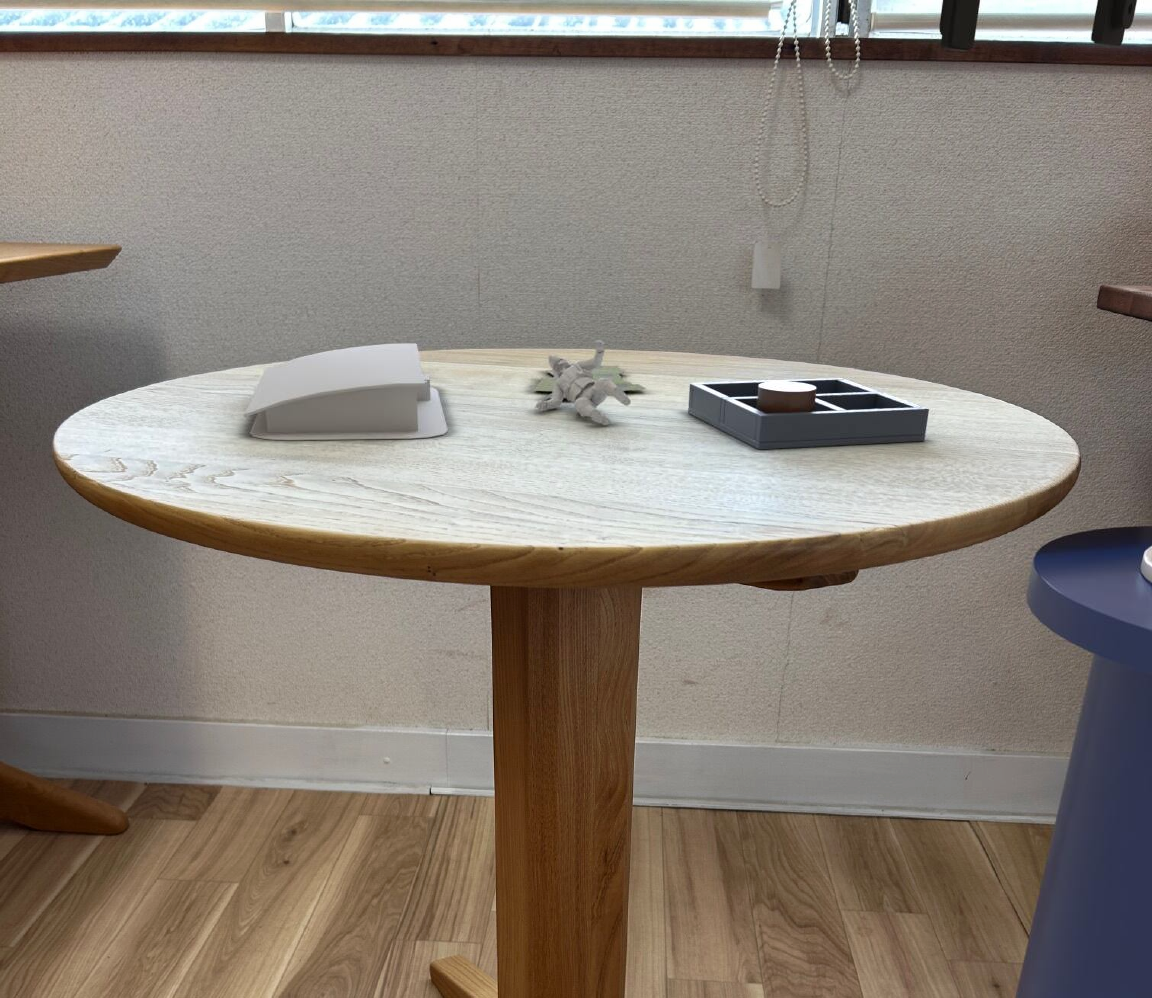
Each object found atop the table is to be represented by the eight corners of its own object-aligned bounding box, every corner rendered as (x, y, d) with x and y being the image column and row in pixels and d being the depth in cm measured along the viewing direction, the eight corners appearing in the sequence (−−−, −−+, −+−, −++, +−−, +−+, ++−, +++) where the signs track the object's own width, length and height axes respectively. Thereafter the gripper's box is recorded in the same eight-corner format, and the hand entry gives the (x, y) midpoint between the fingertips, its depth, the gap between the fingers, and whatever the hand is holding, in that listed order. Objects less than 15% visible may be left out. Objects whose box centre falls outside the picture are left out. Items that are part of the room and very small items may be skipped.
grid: (924, 441, 97) (929, 408, 96) (758, 449, 93) (761, 415, 92) (837, 406, 109) (840, 377, 108) (687, 412, 105) (689, 382, 104)
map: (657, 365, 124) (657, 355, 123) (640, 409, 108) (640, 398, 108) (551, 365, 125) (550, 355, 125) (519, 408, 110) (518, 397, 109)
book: (435, 385, 114) (434, 341, 113) (449, 438, 94) (448, 385, 92) (268, 386, 112) (264, 341, 110) (245, 440, 92) (239, 387, 90)
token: (822, 432, 95) (826, 390, 94) (769, 435, 94) (773, 392, 93) (796, 421, 99) (800, 380, 98) (745, 423, 98) (748, 382, 97)
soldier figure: (563, 440, 99) (502, 370, 106) (594, 473, 102) (532, 403, 110) (635, 371, 97) (567, 305, 104) (663, 407, 101) (596, 340, 108)
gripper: (1274, -325, 65) (1194, 47, 73) (973, -266, 75) (931, 55, 83) (1228, -366, 60) (1147, 38, 68) (913, -296, 71) (874, 47, 78)
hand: (1028, 47), depth 76 cm, fingers open, 9 cm apart
